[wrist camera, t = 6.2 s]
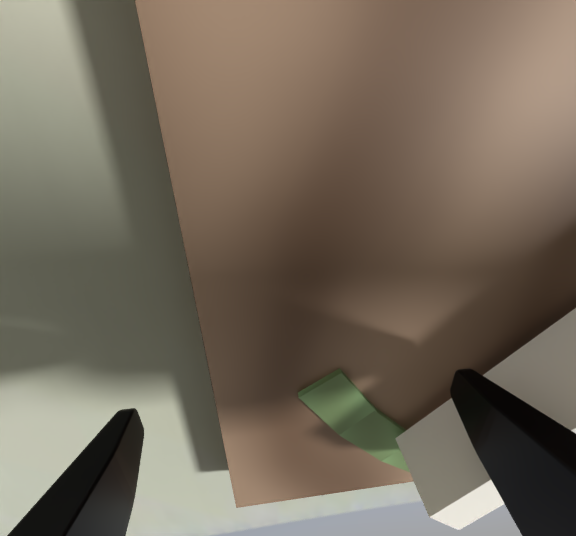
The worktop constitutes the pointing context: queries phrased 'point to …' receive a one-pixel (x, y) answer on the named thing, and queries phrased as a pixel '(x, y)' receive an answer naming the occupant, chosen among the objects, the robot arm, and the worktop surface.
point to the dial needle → (454, 439)
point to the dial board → (362, 213)
